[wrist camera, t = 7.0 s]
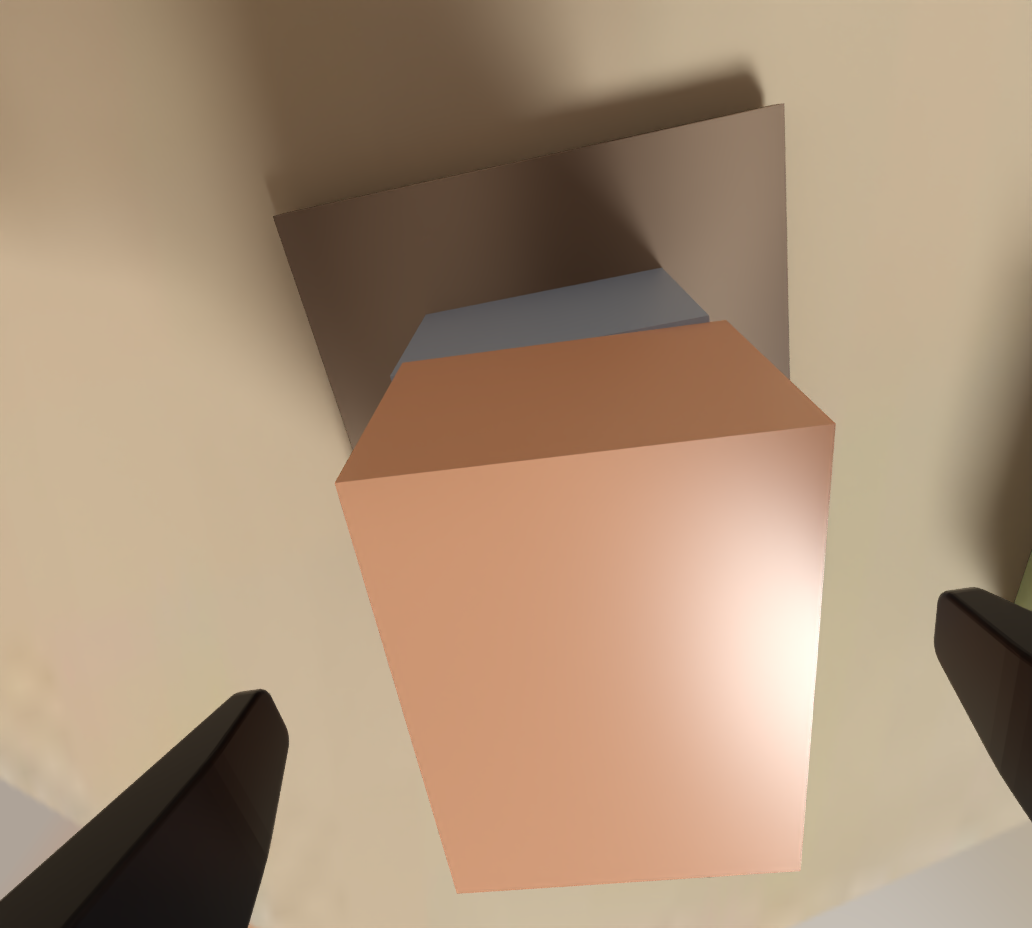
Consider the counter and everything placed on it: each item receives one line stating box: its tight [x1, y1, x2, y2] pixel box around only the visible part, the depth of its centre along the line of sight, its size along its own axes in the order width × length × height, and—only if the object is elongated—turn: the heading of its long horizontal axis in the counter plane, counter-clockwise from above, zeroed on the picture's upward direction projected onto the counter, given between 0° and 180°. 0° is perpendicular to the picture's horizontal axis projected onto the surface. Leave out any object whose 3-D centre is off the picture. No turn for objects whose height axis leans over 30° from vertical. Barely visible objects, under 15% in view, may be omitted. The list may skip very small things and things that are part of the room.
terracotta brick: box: [335, 320, 835, 894], centre depth 10 cm, size 5×7×4 cm
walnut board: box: [273, 104, 790, 450], centre depth 16 cm, size 10×12×1 cm
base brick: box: [390, 268, 710, 381], centre depth 14 cm, size 5×7×4 cm
